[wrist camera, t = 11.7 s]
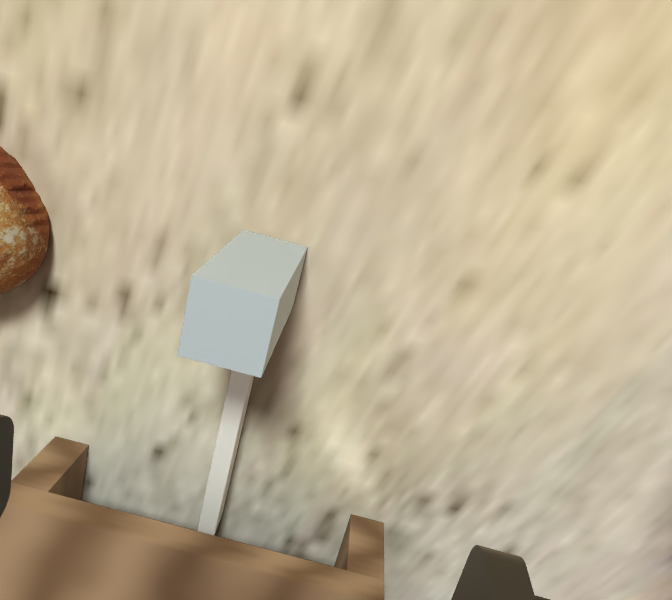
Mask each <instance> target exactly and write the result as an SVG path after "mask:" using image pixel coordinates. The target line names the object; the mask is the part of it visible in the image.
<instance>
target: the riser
mask: <svg viewBox="0 0 672 600" xmlns="http://www.w3.org/2000/svg"><path fill="white" fill-rule="evenodd" d="M88 446H89V445H86V444H82V443H78V442H75V441H71V440H67V439H63V438H59V437H55V438H54V439H53V440H52V441H51V442H50V443H49V444H48V445H47V446H46V447H45V448H44V449H43V450H42V451H41V452H40V453H39V454H38V455H37V456H36V457H35V458H34V459H33V460H32V461H31V462H30V463H29V464H28V465H27V466H26V467H25V468H24V469H23V470H22V471H21V472H20V473H19V474H18V475H17V476H16V477H15V478H14V479H13V480H12V481H11V491H10V496H9V500H8V503H7V505H6V508H5V510H4V512H3V514H2V515H1V517H0V600H384V523H382V522H378V521H374V520H371V519H367V518H363V517H359V516H355V515H352V514H351V516H350V519H349V522H348V525H347V529H346V532H345V535H344V538H343V541H342V544H341V547H340V550H339V553H338V556H337V559H336V563H335V566H334V567H332V566H328V565H324V564H320V563H316V562H312V561H309V560H305V559H301V558H297V557H293V556H290V555H286V554H282V553H278V552H274V551H271V550H267V549H263V548H259V547H255V546H252V545H248V544H244V543H240V542H236V541H232V540H229V539H225V538H221V537H217V536H213V535H210V534H206V533H202V532H198V531H194V530H191V529H187V528H183V527H179V526H175V525H172V524H168V523H164V522H160V521H156V520H153V519H149V518H145V517H141V516H137V515H133V514H130V513H126V512H122V511H118V510H114V509H111V508H107V507H103V506H99V505H95V504H92V503H88V502H84V501H82V493H83V486H84V478H85V470H86V462H87V454H88Z"/></svg>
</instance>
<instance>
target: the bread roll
mask: <svg viewBox="0 0 672 600" xmlns="http://www.w3.org/2000/svg"><path fill="white" fill-rule="evenodd" d="M49 227H50V225H49V219H48V212H47V210H46V208H45V206H44V204H43V203H42V201H41V198H40V196H39V195H38V193H37V192H36V191H35V188H34V186H33V184H32V182H31V181H30V179H29V178H28V177H27V175H26V173H25V172H24V170H23V169H22V167H21V166H20V164H19V163H18V162H17V160H16V159H15V158H14V157H12V156H11V155H9V154H8V153H7V152H6V151H5V150H4V149H3V148H2V147H0V293H3V292H6V291H9V290H11V289H14V288H15V287H17V286H19V285H21V284H22V283H24V282H25V281H27V280H28V279H29V278H31V277H32V276H33V275H34V274H35V273H36V271H37V270H38V268H39V267H40V265H41V263H42V261H43V259H44V257H45V254H46V251H47V248H48V242H49Z"/></svg>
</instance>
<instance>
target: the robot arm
mask: <svg viewBox="0 0 672 600" xmlns="http://www.w3.org/2000/svg"><path fill="white" fill-rule="evenodd" d="M13 435H14V425H13V422H12V420H11V418H9V417H8V416H4V415H0V517H1V515H2V514H3V512H4V510H5V508H6V505H7V503H8V500H9V496H10V491H11V474H12V455H13ZM451 600H550V599H546V598H542V597H539V596H535V595H534V592H533V589H532V585H531V582H530V578H529V574H528V571H527V567H526V564H525V562H524V560H523V559H522V557H519V556H516V555H512V554H508V553H505V552H501V551H497V550H494V549H490V548H486V547H483V546H479V545H476V546H474V547H473V549H472V550H471V552H470V554H469V556H468V559H467V562H466V564H465V567H464V569H463V572H462V574H461V577H460V579H459V582H458V584H457V587H456V589H455V592H454V594H453V597H452V599H451Z"/></svg>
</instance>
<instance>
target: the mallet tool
mask: <svg viewBox="0 0 672 600" xmlns="http://www.w3.org/2000/svg"><path fill="white" fill-rule="evenodd" d="M307 248H308V247H306V246H302V245H298V244H295V243H291V242H287V241H283V240H280V239H276V238H272V237H268V236H265V235H261V234H257V233H254V232H250V231H246V230H243V231H242V232H241V233H240V234H238V235H237V236H236V237H235V238H234V239H233V240H232V241H230V242H229V243H228V244H227V245H226V246H225V247H224V248H222V249H221V250H220V251H219V252H218V253H217V254H215V255H214V256H213V257H212V258H211V259H210V260H209V261H207V262H206V263H205V264H204V265H203V266H202V267H201V268H199V269H198V270H197V271H196V272H195V273H194V274H193V275H192V276H191V281H190V287H189V293H188V298H187V304H186V309H185V315H184V321H183V326H182V332H181V338H180V343H179V349H178V355H177V356H180V357H184V358H188V359H191V360H195V361H199V362H203V363H206V364H210V365H214V366H218V367H221V368H225V369H229V370H232V371H231V376H230V380H229V385H228V390H227V394H226V399H225V404H224V408H223V413H222V418H221V422H220V427H219V432H218V436H217V441H216V445H215V450H214V455H213V459H212V464H211V469H210V473H209V478H208V483H207V487H206V492H205V497H204V501H203V506H202V511H201V515H200V520H199V525H198V529H197V531H198V532H202V533H206V534H210V535H213V536H214V535H215V532H216V530H217V527H218V525H219V522H220V519H221V517H222V514H223V510H224V505H225V501H226V497H227V492H228V488H229V483H230V479H231V475H232V470H233V466H234V462H235V457H236V453H237V449H238V444H239V440H240V436H241V431H242V427H243V423H244V418H245V414H246V410H247V405H248V401H249V397H250V392H251V388H252V384H253V379H254V376H255V377H259V378H261V377H262V375H263V373H264V371H265V368H266V366H267V364H268V362H269V360H270V357H271V355H272V353H273V351H274V348H275V346H276V344H277V342H278V339H279V337H280V335H281V333H282V330H283V328H284V326H285V324H286V322H287V319H288V317H289V315H290V313H291V310H292V308H293V305H294V301H295V297H296V293H297V289H298V285H299V280H300V276H301V272H302V268H303V264H304V260H305V256H306V252H307Z"/></svg>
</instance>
